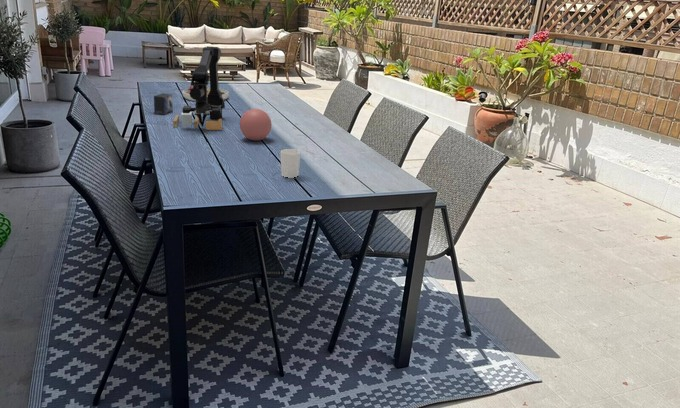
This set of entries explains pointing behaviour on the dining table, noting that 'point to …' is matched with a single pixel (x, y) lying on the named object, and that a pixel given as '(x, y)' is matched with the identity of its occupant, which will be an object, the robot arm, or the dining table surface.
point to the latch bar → (214, 125)
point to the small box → (163, 104)
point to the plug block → (186, 119)
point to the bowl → (224, 93)
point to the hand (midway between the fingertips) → (202, 126)
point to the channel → (176, 121)
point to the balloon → (255, 124)
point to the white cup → (290, 162)
